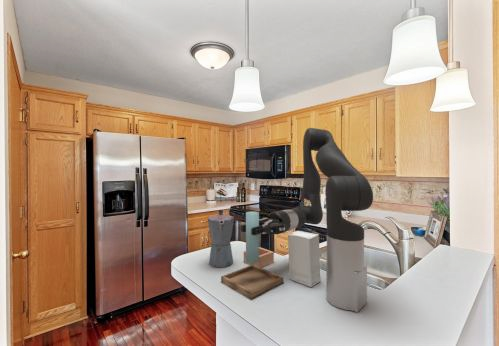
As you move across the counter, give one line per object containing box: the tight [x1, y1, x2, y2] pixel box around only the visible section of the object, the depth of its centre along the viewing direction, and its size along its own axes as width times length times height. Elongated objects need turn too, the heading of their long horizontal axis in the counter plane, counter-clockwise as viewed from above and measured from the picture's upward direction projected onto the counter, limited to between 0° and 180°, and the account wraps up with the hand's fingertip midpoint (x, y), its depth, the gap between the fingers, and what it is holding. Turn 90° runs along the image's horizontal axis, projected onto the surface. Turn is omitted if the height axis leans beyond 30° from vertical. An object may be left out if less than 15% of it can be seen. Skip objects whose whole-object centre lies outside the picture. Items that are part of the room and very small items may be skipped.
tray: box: [220, 265, 285, 300], centre depth 73 cm, size 14×14×2 cm
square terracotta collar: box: [243, 246, 275, 268], centre depth 89 cm, size 8×8×4 cm
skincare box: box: [287, 230, 322, 288], centre depth 75 cm, size 8×6×15 cm
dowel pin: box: [245, 211, 260, 264], centre depth 73 cm, size 4×4×15 cm
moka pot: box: [207, 209, 235, 269], centre depth 89 cm, size 10×15×20 cm, turn 14°
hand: (247, 230), depth 71 cm, fingers closed on dowel pin, 4 cm apart
